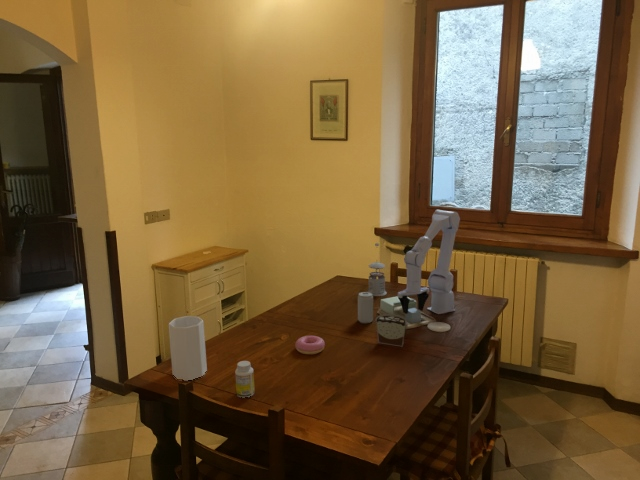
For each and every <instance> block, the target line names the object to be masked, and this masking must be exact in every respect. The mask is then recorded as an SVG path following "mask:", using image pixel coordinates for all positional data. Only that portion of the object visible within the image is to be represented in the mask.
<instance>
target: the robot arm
mask: <svg viewBox="0 0 640 480" xmlns="http://www.w3.org/2000/svg"><path fill="white" fill-rule="evenodd" d="M460 222H461V217H460V215H459V212H457V211H448V210H442V209H435V211H434V212H433V213H432V216H431V223H430V225H429V227H428V228H427V230H426V232H425V234H424V236H420V237H419V238H418V240H417V241H416V243H415V244H414V246H413V247H412V248H411V250H408V251H406V253H405V254H404V259H403V260H404V264H405V268H406V287H405V289H403V290H401V291H398V292H397V296H398V298H399V300H400V302H401V305H402V308H403V313H405V314H408V305H409V301H410V299H408V297H410V296H417V309H418V310H420V311H421V312H423V310H424V308H425V307H424V306H425V304H426V303H427V300H428V298H429V297H430V291H431V306H429V307H427V308H426V309H427V310H429V311H430V312H433V313H435V314H437V315H441V314H446V313H447V314H448V313H450V312H455V311H456V309H455V294H454V292H453V291H452V289H453V288H454V275H453V274H452V272H451V271H450V265H451V261H452V255H453V252H454V251H453V250H454V245H455V239H456V235H457V232H458V230H459V225H460ZM440 231H442V239H441V242H440V248H439V253H438V259H437V264H436V268H434V269H432V270H431V271H430V274H429V277H428V279H427V285H428V286H424V287H422V266H423V264H425V261H426V256H427V253H428V252H429V250H430V248H431V247H432V245H433V243H432V241H433V239H434V238H435V237H437V235H438V233H439V232H440Z"/></svg>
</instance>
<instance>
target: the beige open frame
mask: <svg viewBox="0 0 640 480" xmlns="http://www.w3.org/2000/svg"><path fill="white" fill-rule="evenodd" d="M376 313H377V314H378V315H379V316H380V315H384V314H388V313H386V312H384V311H382V310H380V308H379V309H378V310H377V312H376ZM394 314H395V315H400V316H402V317H404V318H405V313H403V308H402V306H397V307H394ZM435 318H436V317H432V316H431V315H428V314H426V312H423V311H421V322H418V323H414V324H410V323H408V322H407V327H405V330H409V329H413V328H417V327H423V326H425V325H427V326H428V324H429V323H433V322H437V320H436V319H435Z"/></svg>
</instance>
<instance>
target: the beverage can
mask: <svg viewBox="0 0 640 480" xmlns="http://www.w3.org/2000/svg"><path fill="white" fill-rule="evenodd" d="M357 321H358V322H359V323H360V324H370V323H371V322H373V321H374V296H372V293H369V292H368V291H363V292H358V296H357Z"/></svg>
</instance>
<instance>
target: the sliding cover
mask: <svg viewBox="0 0 640 480" xmlns="http://www.w3.org/2000/svg"><path fill="white" fill-rule="evenodd" d="M407 297H408V299H410V301H409V305H408V309H411V308H416V309H418V300H416V299H415V298H412V297H411V298H410V296H407ZM379 304H380V308H379V309H380V310H382V311H384V312H386V313H388V314H394V308H395V307H400V306H402V305H401V302H400V300H399V298H398V295H397V296H392V297H387V298H381V299H380V303H379Z"/></svg>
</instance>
